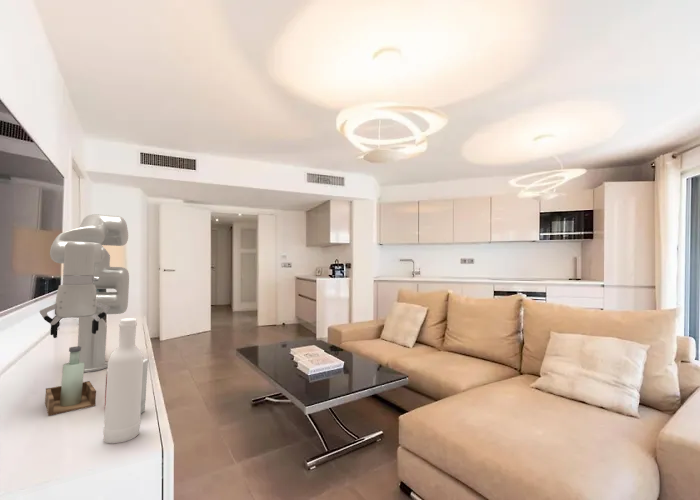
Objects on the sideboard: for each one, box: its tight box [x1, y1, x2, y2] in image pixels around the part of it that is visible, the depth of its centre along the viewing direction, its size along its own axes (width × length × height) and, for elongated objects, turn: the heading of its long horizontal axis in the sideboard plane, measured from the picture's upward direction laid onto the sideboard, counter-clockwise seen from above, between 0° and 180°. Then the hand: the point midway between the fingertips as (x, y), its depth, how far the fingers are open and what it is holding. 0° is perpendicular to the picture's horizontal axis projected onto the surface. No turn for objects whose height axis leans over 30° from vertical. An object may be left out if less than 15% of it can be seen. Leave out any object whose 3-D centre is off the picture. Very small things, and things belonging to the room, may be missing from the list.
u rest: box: [44, 380, 97, 417], centre depth 107 cm, size 12×11×5 cm
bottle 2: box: [102, 317, 144, 444], centre depth 90 cm, size 8×8×30 cm
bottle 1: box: [60, 345, 85, 406], centre depth 108 cm, size 5×5×17 cm
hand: (74, 335), depth 108 cm, fingers open, 9 cm apart
